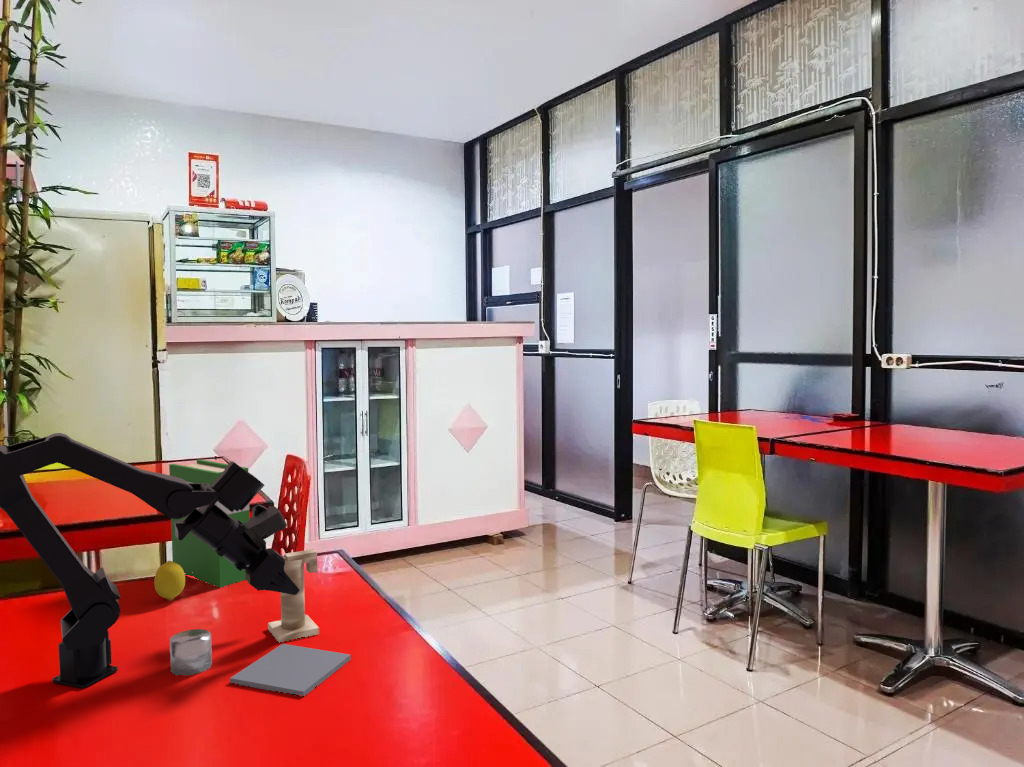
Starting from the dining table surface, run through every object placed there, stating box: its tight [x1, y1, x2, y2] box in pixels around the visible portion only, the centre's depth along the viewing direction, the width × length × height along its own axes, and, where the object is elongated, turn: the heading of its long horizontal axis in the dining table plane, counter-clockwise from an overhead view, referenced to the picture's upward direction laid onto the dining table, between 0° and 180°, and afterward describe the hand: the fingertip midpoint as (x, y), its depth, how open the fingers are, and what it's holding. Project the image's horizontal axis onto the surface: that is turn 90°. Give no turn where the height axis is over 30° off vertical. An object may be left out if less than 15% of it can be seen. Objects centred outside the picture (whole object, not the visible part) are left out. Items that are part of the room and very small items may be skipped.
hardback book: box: [168, 459, 251, 589], centre depth 162 cm, size 18×7×24 cm, turn 55°
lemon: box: [153, 560, 186, 602], centre depth 147 cm, size 6×6×8 cm
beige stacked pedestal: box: [267, 549, 320, 644], centre depth 132 cm, size 8×7×14 cm
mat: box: [229, 643, 352, 697], centre depth 117 cm, size 13×13×1 cm
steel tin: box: [169, 628, 213, 677], centre depth 118 cm, size 6×6×5 cm
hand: (290, 584), depth 131 cm, fingers open, 9 cm apart
